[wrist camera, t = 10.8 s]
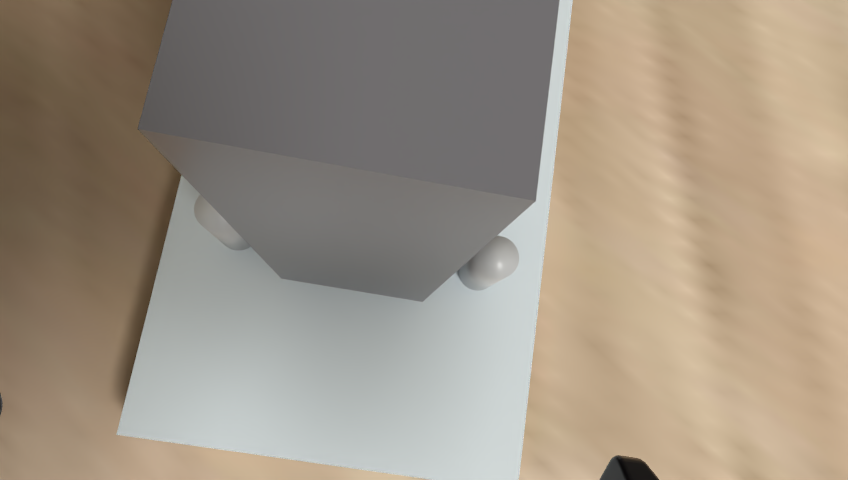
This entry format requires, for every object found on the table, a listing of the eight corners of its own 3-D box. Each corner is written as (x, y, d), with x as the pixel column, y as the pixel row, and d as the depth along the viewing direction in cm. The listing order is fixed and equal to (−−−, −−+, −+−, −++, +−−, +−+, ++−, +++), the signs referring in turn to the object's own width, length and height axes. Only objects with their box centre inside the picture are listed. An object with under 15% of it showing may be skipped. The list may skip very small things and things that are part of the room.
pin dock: (505, 481, 20) (547, 517, 15) (135, 428, 19) (67, 449, 14) (571, -86, 24) (618, -184, 20) (276, -151, 23) (257, -268, 19)
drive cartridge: (422, 301, 19) (536, 200, 7) (281, 278, 19) (138, 128, 7) (448, 135, 20) (583, -201, 8) (316, 111, 20) (248, -280, 8)
